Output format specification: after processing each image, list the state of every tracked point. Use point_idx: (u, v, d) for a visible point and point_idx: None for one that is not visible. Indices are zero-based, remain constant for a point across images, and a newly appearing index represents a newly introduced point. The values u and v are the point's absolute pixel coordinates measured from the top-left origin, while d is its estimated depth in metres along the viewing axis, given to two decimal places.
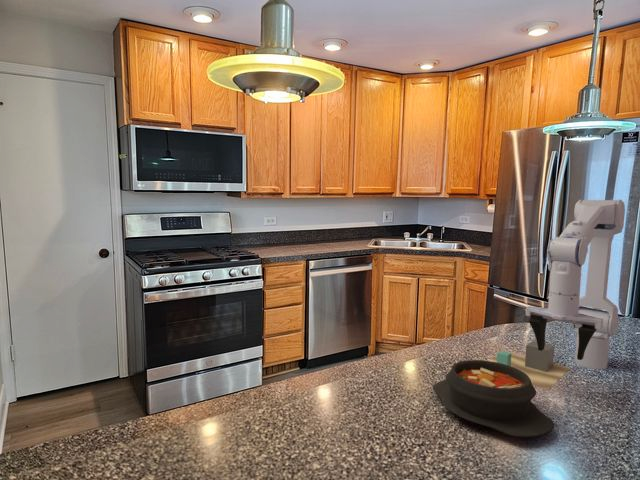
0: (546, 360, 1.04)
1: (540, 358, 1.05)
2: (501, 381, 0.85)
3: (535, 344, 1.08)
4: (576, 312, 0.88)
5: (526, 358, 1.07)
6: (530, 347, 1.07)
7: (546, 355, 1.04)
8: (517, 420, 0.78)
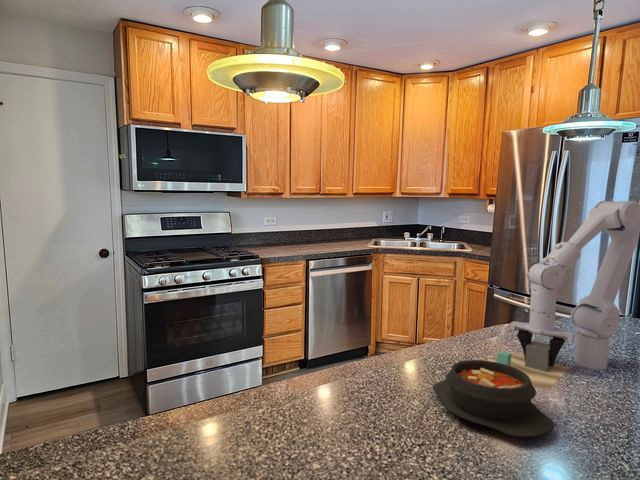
0: (546, 360, 1.04)
1: (540, 358, 1.05)
2: (501, 381, 0.85)
3: (535, 344, 1.08)
4: (552, 327, 1.04)
5: (526, 358, 1.07)
6: (530, 347, 1.07)
7: (546, 355, 1.04)
8: (517, 420, 0.78)
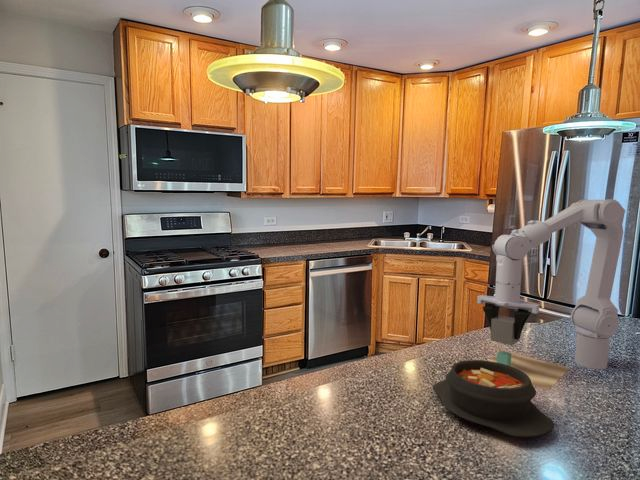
0: (511, 333, 1.02)
1: (505, 331, 1.03)
2: (501, 381, 0.85)
3: (501, 318, 1.06)
4: (517, 299, 1.02)
5: (491, 332, 1.05)
6: (495, 320, 1.04)
7: (511, 328, 1.02)
8: (517, 420, 0.78)
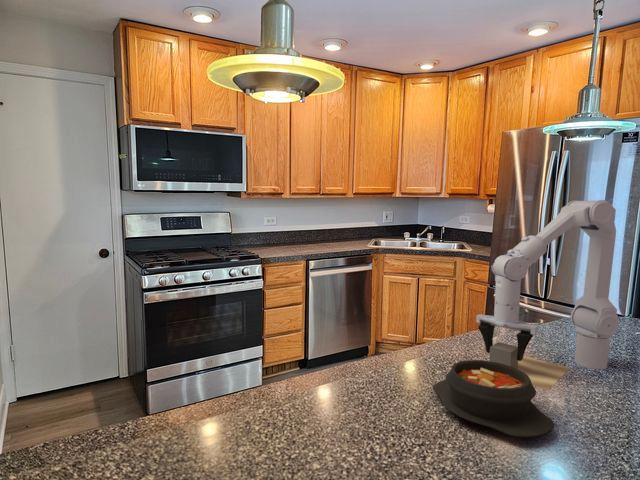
0: (509, 362, 1.03)
1: (503, 360, 1.04)
2: (501, 381, 0.85)
3: (499, 346, 1.07)
4: (516, 320, 1.03)
5: (490, 360, 1.06)
6: (494, 349, 1.05)
7: (509, 357, 1.03)
8: (517, 420, 0.78)
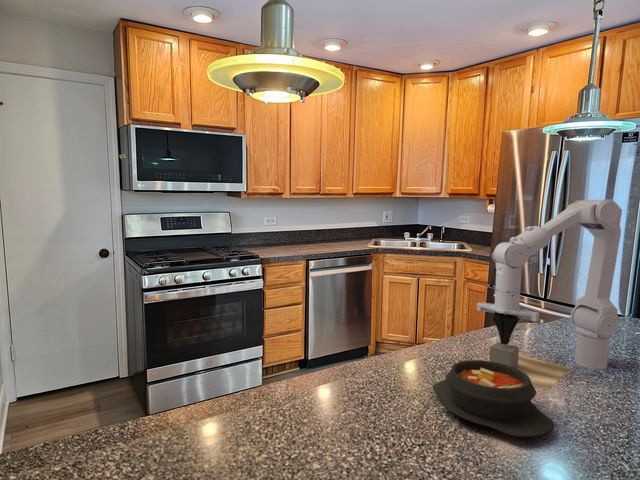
0: (509, 362, 1.03)
1: (503, 360, 1.04)
2: (501, 381, 0.85)
3: (499, 346, 1.07)
4: (517, 307, 1.02)
5: (490, 360, 1.06)
6: (494, 349, 1.05)
7: (509, 357, 1.03)
8: (517, 420, 0.78)
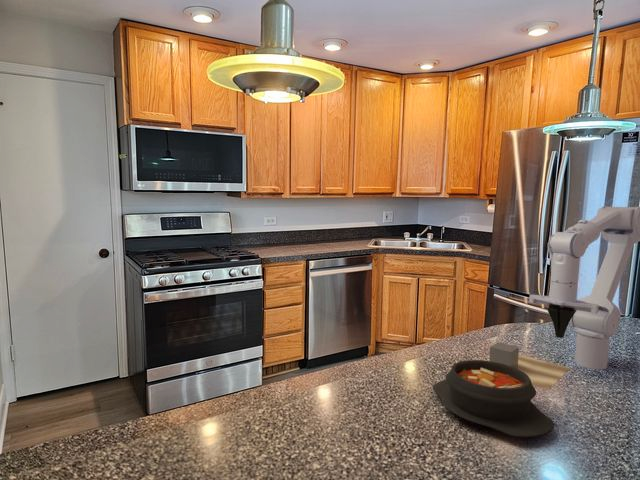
0: (509, 362, 1.03)
1: (503, 360, 1.04)
2: (501, 381, 0.85)
3: (499, 346, 1.07)
4: (574, 299, 0.99)
5: (490, 360, 1.06)
6: (494, 349, 1.05)
7: (509, 357, 1.03)
8: (517, 420, 0.78)
